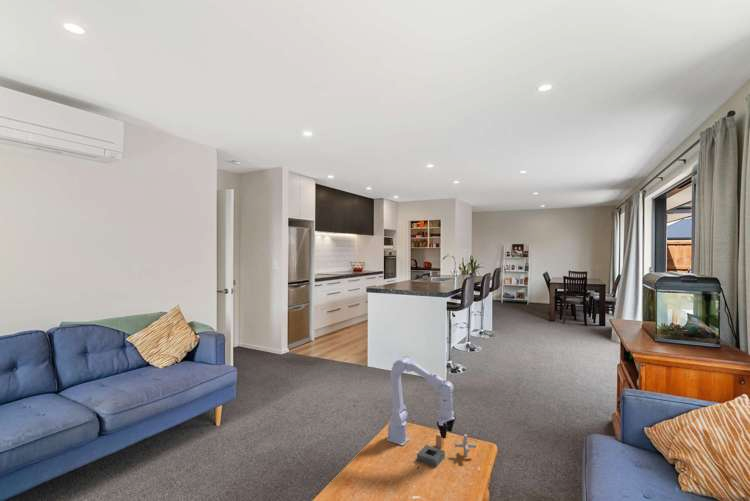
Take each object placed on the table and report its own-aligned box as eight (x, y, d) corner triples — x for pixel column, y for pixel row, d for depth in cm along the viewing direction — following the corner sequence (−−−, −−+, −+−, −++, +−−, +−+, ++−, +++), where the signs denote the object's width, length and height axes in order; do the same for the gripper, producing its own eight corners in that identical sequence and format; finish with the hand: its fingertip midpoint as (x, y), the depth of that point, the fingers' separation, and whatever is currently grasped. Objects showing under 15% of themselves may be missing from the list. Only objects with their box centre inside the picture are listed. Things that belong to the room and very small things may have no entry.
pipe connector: (474, 450, 178) (474, 430, 179) (477, 462, 169) (477, 441, 169) (453, 449, 179) (453, 429, 180) (456, 460, 170) (456, 439, 170)
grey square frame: (417, 460, 170) (417, 454, 170) (426, 450, 178) (426, 444, 178) (436, 467, 164) (436, 460, 164) (444, 457, 173) (444, 450, 173)
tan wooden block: (435, 446, 182) (435, 434, 182) (438, 443, 185) (438, 432, 185) (441, 448, 181) (441, 436, 181) (443, 445, 183) (443, 434, 183)
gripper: (448, 414, 167) (448, 443, 167) (459, 403, 179) (459, 430, 179) (434, 410, 171) (434, 438, 171) (446, 400, 183) (446, 426, 183)
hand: (446, 434), depth 175 cm, fingers open, 7 cm apart
